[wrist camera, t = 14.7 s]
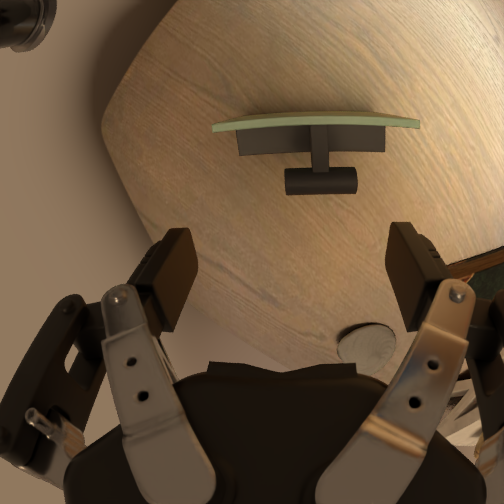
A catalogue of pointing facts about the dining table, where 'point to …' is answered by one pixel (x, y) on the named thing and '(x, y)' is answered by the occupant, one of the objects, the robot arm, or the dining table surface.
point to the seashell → (367, 348)
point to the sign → (317, 146)
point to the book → (482, 273)
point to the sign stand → (299, 139)
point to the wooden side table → (464, 418)
